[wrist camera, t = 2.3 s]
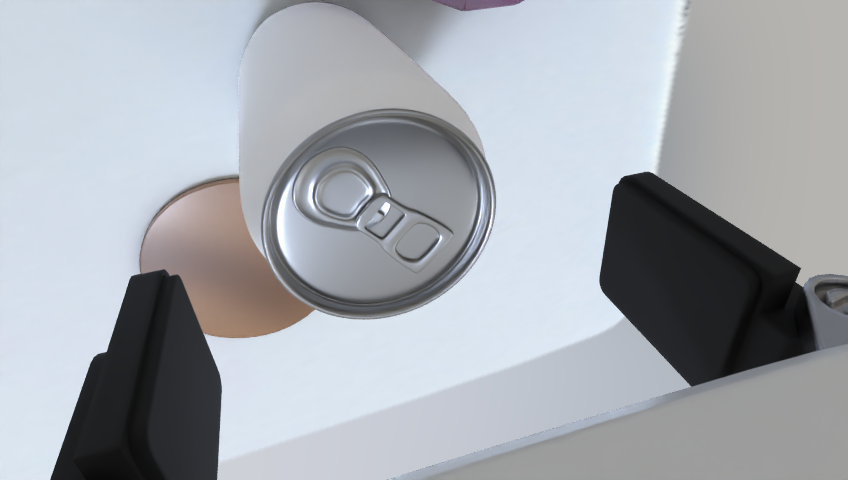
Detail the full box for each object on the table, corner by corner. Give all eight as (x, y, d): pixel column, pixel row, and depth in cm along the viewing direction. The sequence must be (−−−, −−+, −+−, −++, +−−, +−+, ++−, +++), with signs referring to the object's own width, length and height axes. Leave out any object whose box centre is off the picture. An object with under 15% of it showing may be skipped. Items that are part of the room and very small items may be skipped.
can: (302, -40, 19) (368, 17, 10) (424, 71, 23) (561, 194, 13) (205, 97, 21) (177, 265, 11) (333, 181, 24) (397, 364, 15)
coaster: (108, 199, 22) (106, 204, 21) (321, 161, 24) (323, 165, 23) (177, 351, 27) (176, 356, 26) (349, 309, 29) (350, 314, 28)
